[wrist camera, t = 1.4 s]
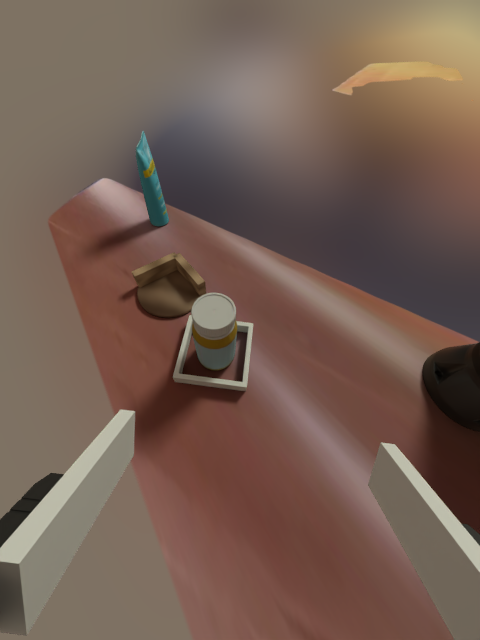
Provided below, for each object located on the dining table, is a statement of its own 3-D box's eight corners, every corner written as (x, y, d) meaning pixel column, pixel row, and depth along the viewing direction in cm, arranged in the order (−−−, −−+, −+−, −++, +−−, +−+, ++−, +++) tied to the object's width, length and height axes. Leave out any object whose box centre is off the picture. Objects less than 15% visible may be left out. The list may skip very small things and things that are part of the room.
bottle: (219, 379, 43) (218, 342, 30) (190, 357, 45) (177, 314, 32) (241, 350, 46) (248, 306, 34) (213, 331, 48) (209, 282, 35)
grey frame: (251, 329, 49) (253, 323, 47) (245, 391, 42) (246, 387, 40) (190, 321, 49) (189, 315, 47) (175, 381, 42) (172, 377, 40)
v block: (199, 322, 49) (197, 310, 45) (125, 312, 49) (117, 300, 45) (211, 271, 57) (211, 257, 53) (147, 262, 57) (142, 248, 53)
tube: (168, 229, 63) (149, 147, 47) (149, 230, 63) (123, 146, 46) (169, 212, 67) (152, 130, 51) (151, 212, 67) (128, 129, 50)
